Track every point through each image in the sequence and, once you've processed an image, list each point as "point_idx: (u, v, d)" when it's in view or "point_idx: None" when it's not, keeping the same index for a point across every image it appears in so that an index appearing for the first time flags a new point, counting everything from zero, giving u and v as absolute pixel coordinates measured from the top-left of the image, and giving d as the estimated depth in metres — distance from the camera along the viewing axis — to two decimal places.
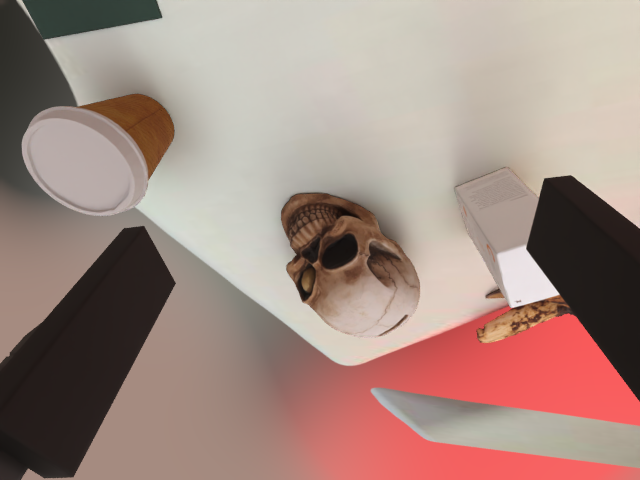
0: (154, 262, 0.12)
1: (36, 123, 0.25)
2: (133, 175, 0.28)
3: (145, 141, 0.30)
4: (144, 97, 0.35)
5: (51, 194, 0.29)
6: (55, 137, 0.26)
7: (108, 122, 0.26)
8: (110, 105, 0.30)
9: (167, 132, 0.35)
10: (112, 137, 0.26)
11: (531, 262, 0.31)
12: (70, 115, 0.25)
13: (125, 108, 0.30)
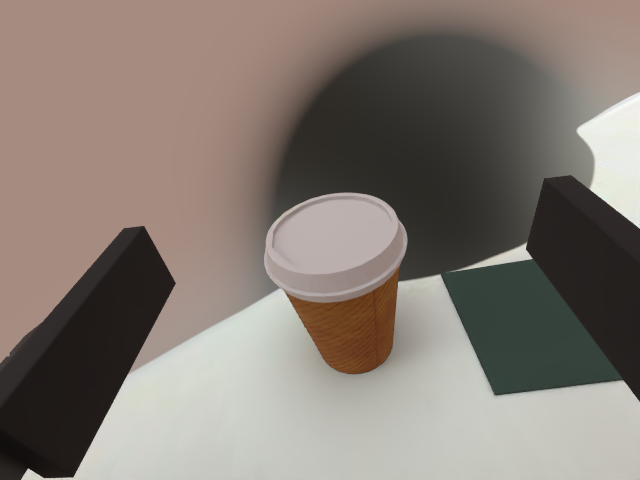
0: (154, 262, 0.12)
1: (390, 207, 0.22)
2: (317, 275, 0.19)
3: (352, 316, 0.21)
4: (390, 346, 0.27)
5: (305, 202, 0.25)
6: (372, 219, 0.22)
7: (390, 270, 0.19)
8: (396, 294, 0.23)
9: (347, 360, 0.25)
10: (372, 265, 0.19)
11: None
12: (399, 236, 0.21)
13: (390, 311, 0.23)
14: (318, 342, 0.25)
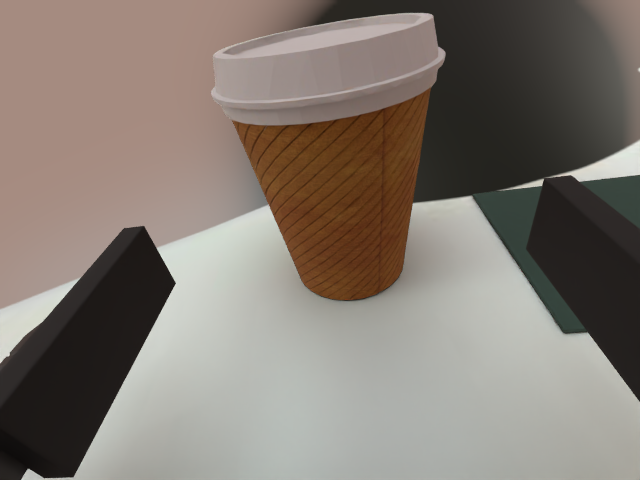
0: (154, 262, 0.12)
1: (418, 14, 0.14)
2: (285, 56, 0.10)
3: (345, 169, 0.13)
4: (400, 266, 0.18)
5: (289, 31, 0.17)
6: (389, 29, 0.14)
7: (416, 73, 0.11)
8: (417, 163, 0.15)
9: (335, 273, 0.17)
10: (386, 49, 0.10)
11: None
12: (434, 35, 0.12)
13: (405, 189, 0.15)
14: (293, 240, 0.16)
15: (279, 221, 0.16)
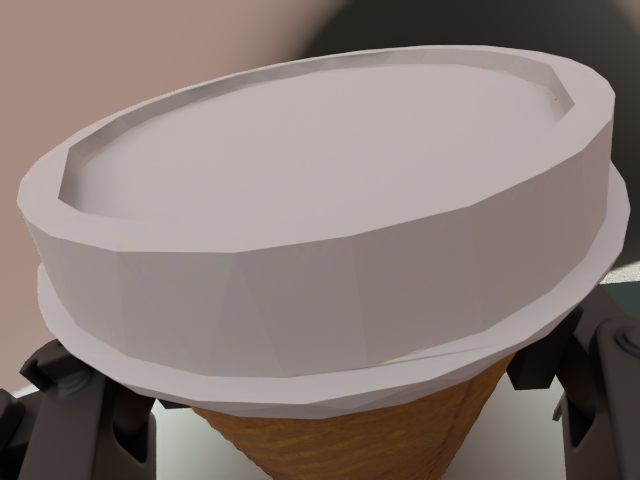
0: None
1: (519, 51, 0.06)
2: (154, 258, 0.03)
3: (365, 453, 0.05)
4: None
5: (251, 70, 0.09)
6: (457, 86, 0.06)
7: (597, 269, 0.03)
8: None
9: None
10: (528, 225, 0.03)
11: None
12: None
13: None
14: None
15: None
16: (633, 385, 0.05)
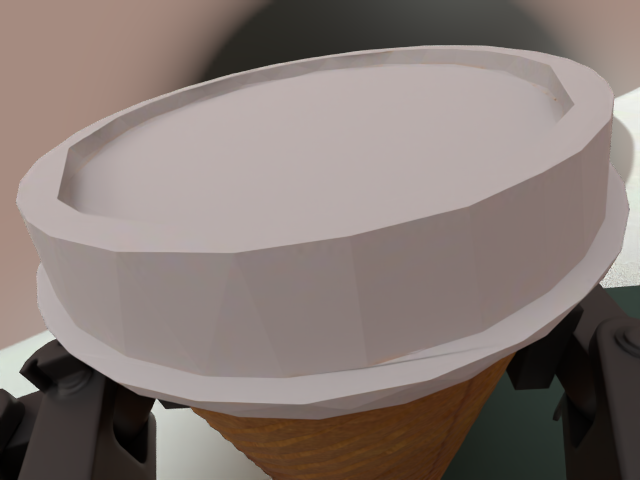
0: None
1: (519, 51, 0.06)
2: (153, 260, 0.03)
3: (364, 453, 0.05)
4: None
5: (251, 70, 0.09)
6: (457, 86, 0.06)
7: (596, 269, 0.03)
8: None
9: None
10: (529, 225, 0.03)
11: None
12: None
13: None
14: None
15: None
16: (633, 385, 0.05)
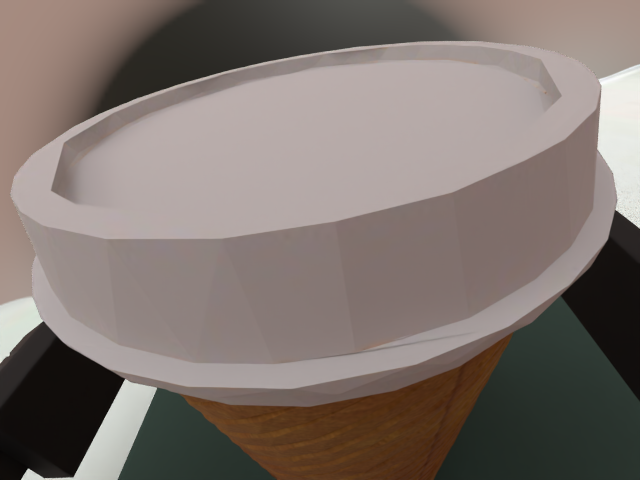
0: None
1: (512, 46, 0.06)
2: (141, 247, 0.03)
3: (357, 442, 0.05)
4: None
5: (247, 67, 0.09)
6: (450, 81, 0.06)
7: (582, 257, 0.04)
8: None
9: None
10: (512, 213, 0.03)
11: None
12: None
13: None
14: None
15: None
16: None
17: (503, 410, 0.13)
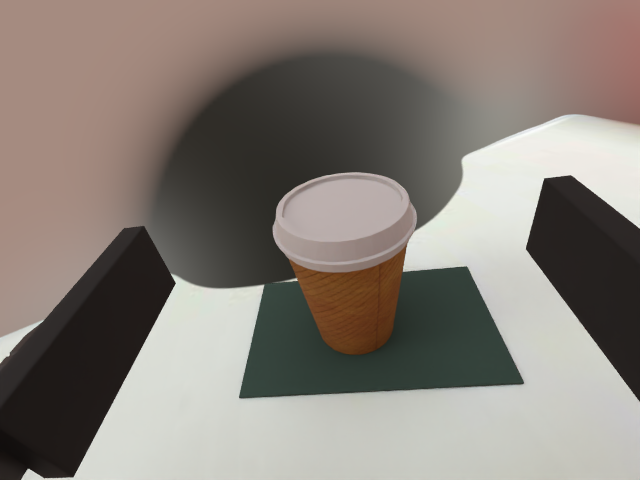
0: (154, 262, 0.12)
1: (401, 187, 0.22)
2: (326, 242, 0.19)
3: (356, 290, 0.21)
4: (390, 330, 0.27)
5: (317, 179, 0.25)
6: (383, 197, 0.22)
7: (398, 245, 0.20)
8: (400, 274, 0.23)
9: (347, 339, 0.25)
10: (381, 238, 0.19)
11: None
12: (409, 213, 0.21)
13: (393, 291, 0.23)
14: (319, 318, 0.25)
15: (311, 306, 0.25)
16: None
17: (420, 317, 0.29)
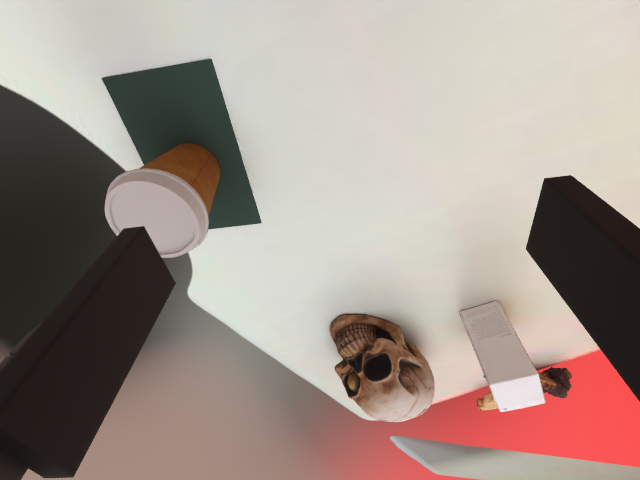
0: (154, 262, 0.12)
1: (120, 185, 0.29)
2: (199, 225, 0.32)
3: (205, 191, 0.34)
4: (196, 146, 0.39)
5: None
6: (134, 195, 0.30)
7: (180, 181, 0.30)
8: (175, 161, 0.34)
9: (216, 177, 0.40)
10: (183, 195, 0.30)
11: (513, 389, 0.45)
12: (149, 177, 0.29)
13: (186, 162, 0.35)
14: None
15: None
16: None
17: (175, 123, 0.38)
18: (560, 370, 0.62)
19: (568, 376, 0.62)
